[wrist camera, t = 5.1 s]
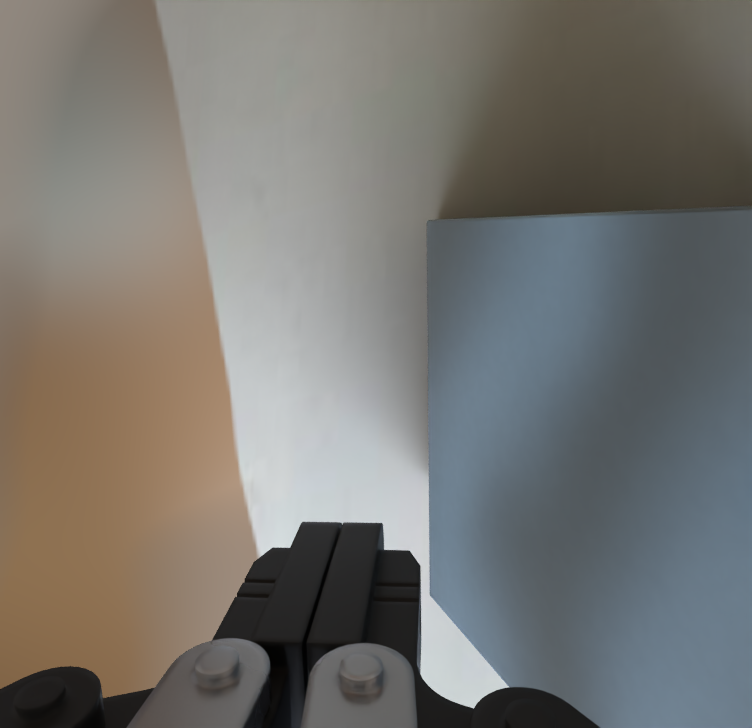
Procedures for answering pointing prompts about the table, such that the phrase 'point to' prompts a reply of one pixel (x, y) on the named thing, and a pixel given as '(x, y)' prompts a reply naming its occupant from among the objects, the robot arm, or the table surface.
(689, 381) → the window lid
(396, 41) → the table surface
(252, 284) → the table surface
